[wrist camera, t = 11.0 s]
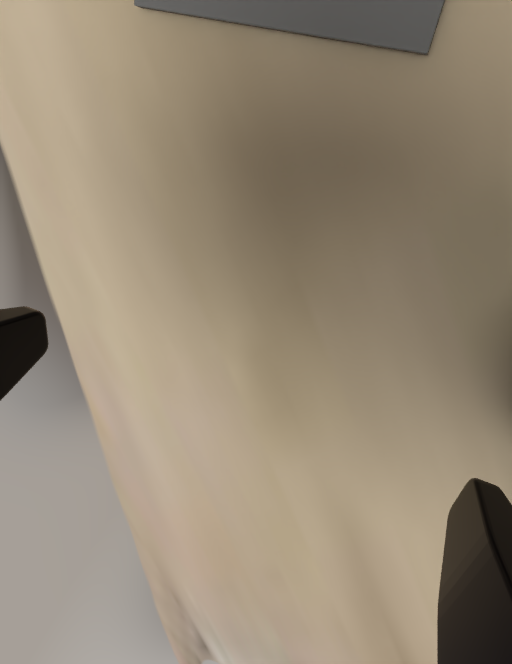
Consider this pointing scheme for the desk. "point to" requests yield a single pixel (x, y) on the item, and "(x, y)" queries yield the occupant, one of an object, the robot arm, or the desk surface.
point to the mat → (325, 18)
